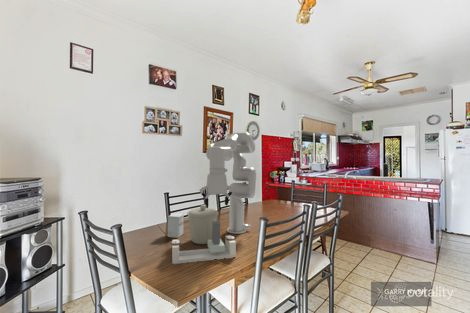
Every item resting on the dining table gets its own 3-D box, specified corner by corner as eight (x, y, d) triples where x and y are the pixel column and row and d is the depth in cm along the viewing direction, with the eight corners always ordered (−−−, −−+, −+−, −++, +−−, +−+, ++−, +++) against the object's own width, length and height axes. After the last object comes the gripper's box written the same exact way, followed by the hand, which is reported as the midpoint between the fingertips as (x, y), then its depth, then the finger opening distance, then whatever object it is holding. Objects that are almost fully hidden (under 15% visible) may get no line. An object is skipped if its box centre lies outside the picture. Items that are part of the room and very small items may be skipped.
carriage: (220, 244, 121) (221, 219, 121) (224, 251, 112) (225, 224, 112) (207, 245, 119) (207, 220, 119) (210, 252, 110) (210, 225, 110)
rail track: (232, 249, 123) (232, 233, 123) (237, 257, 113) (237, 240, 113) (170, 255, 115) (170, 238, 115) (170, 264, 105) (170, 246, 105)
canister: (224, 241, 134) (225, 205, 134) (199, 250, 121) (199, 210, 121) (205, 233, 147) (205, 200, 147) (180, 240, 134) (181, 204, 134)
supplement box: (178, 238, 138) (178, 217, 138) (167, 237, 140) (167, 216, 140) (183, 234, 145) (183, 213, 145) (172, 233, 147) (173, 213, 147)
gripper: (231, 170, 121) (231, 203, 122) (198, 171, 117) (198, 204, 117) (235, 171, 114) (235, 206, 115) (200, 172, 110) (200, 208, 110)
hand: (216, 205), depth 116 cm, fingers open, 9 cm apart
